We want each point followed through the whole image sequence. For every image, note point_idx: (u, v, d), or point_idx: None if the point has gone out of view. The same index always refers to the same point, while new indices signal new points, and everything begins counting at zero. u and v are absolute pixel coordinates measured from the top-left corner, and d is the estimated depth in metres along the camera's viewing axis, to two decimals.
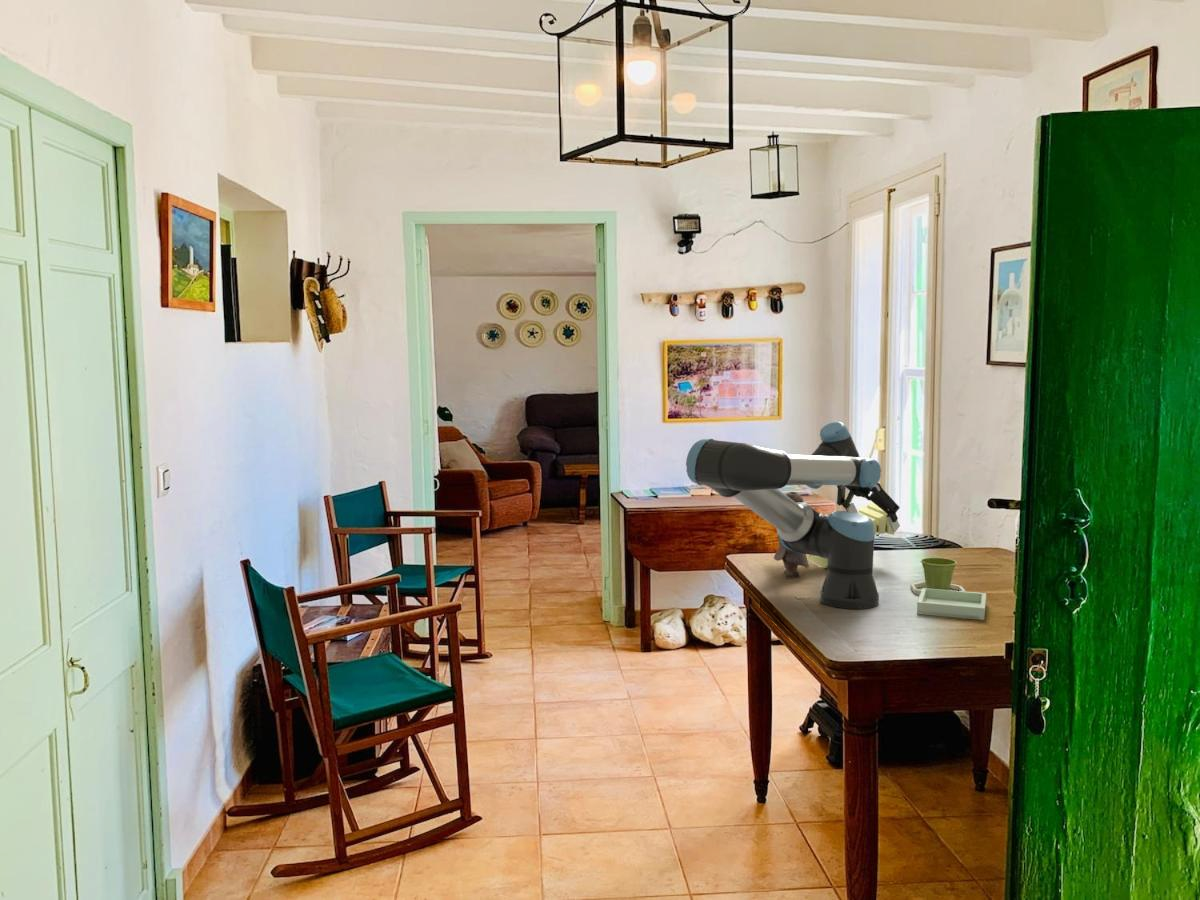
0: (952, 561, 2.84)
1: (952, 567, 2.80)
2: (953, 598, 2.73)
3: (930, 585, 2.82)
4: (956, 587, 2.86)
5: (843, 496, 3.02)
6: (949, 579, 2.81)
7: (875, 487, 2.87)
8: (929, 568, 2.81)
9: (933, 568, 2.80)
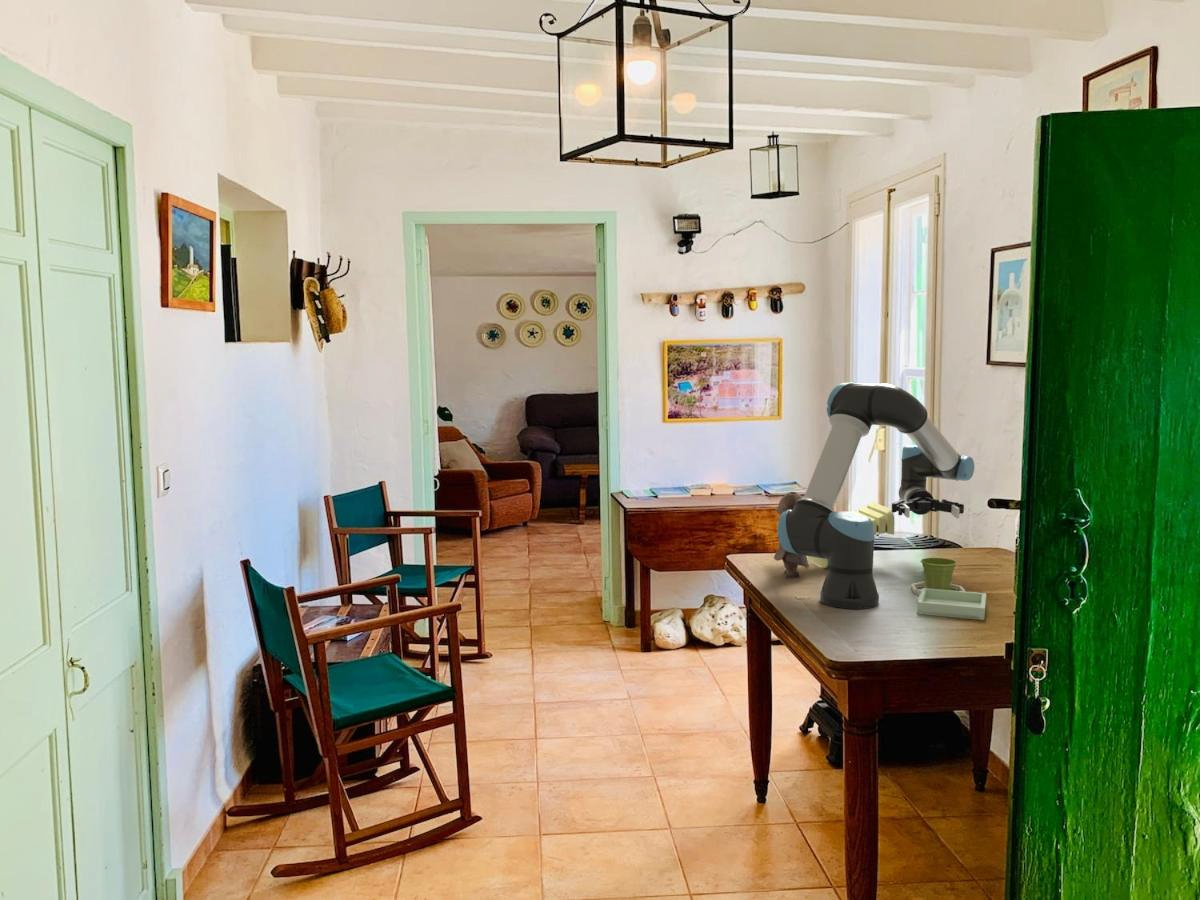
0: (952, 561, 2.84)
1: (952, 567, 2.80)
2: (953, 598, 2.73)
3: (930, 585, 2.82)
4: (956, 587, 2.86)
5: None
6: (949, 579, 2.81)
7: None
8: (929, 568, 2.81)
9: (933, 568, 2.80)
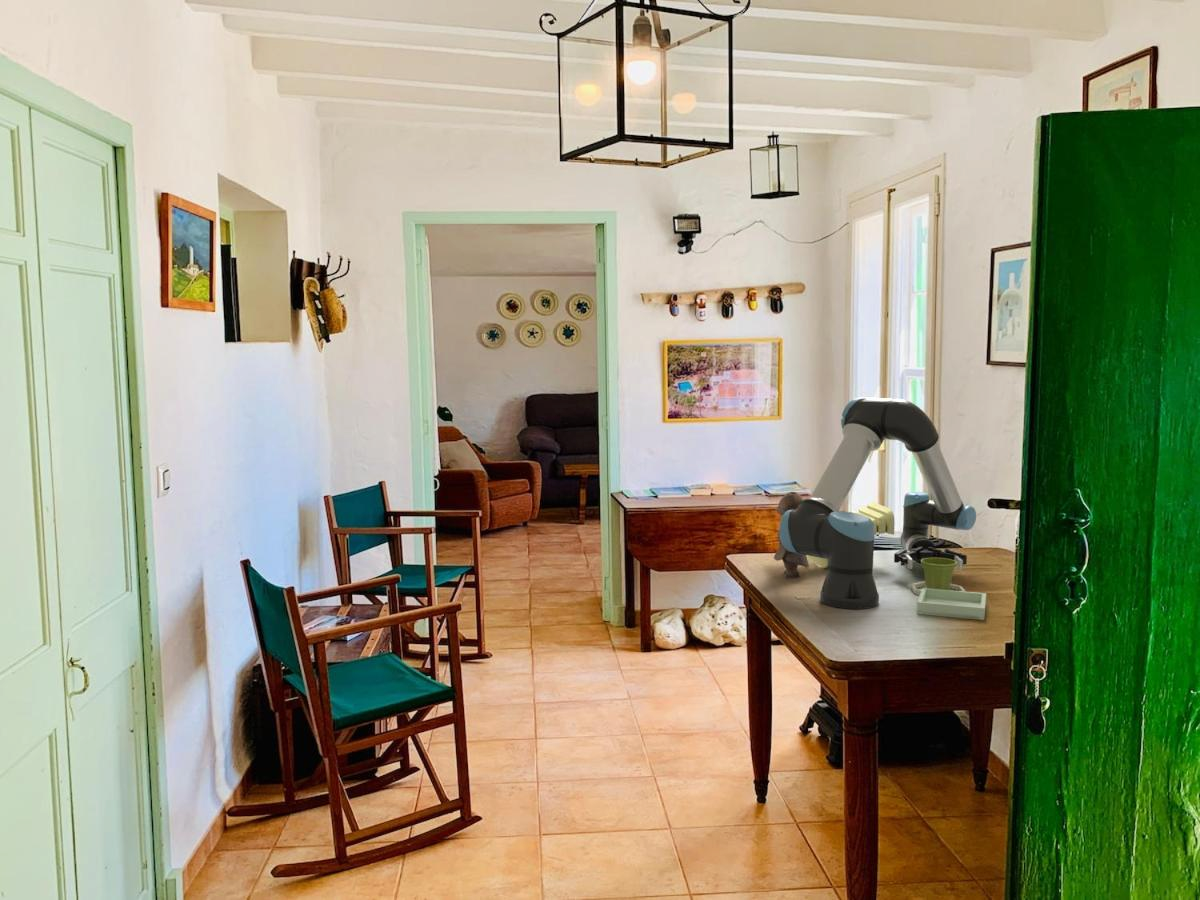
0: (952, 561, 2.84)
1: (952, 567, 2.80)
2: (953, 598, 2.73)
3: (930, 585, 2.82)
4: (956, 587, 2.86)
5: None
6: (949, 579, 2.81)
7: None
8: (929, 568, 2.81)
9: (933, 568, 2.80)
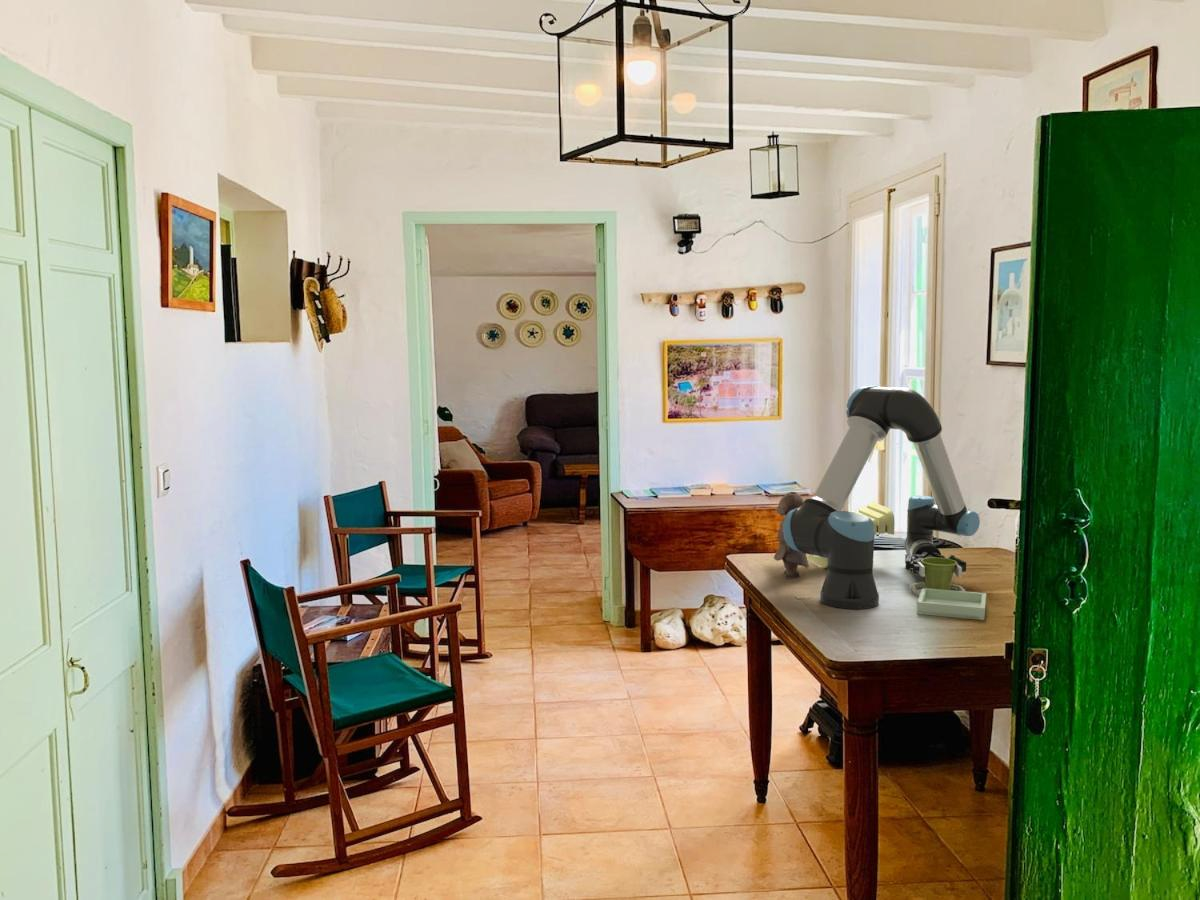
0: (952, 561, 2.84)
1: (952, 567, 2.80)
2: (953, 598, 2.73)
3: (930, 585, 2.82)
4: (956, 587, 2.86)
5: None
6: (949, 579, 2.81)
7: None
8: (929, 568, 2.81)
9: (933, 568, 2.80)
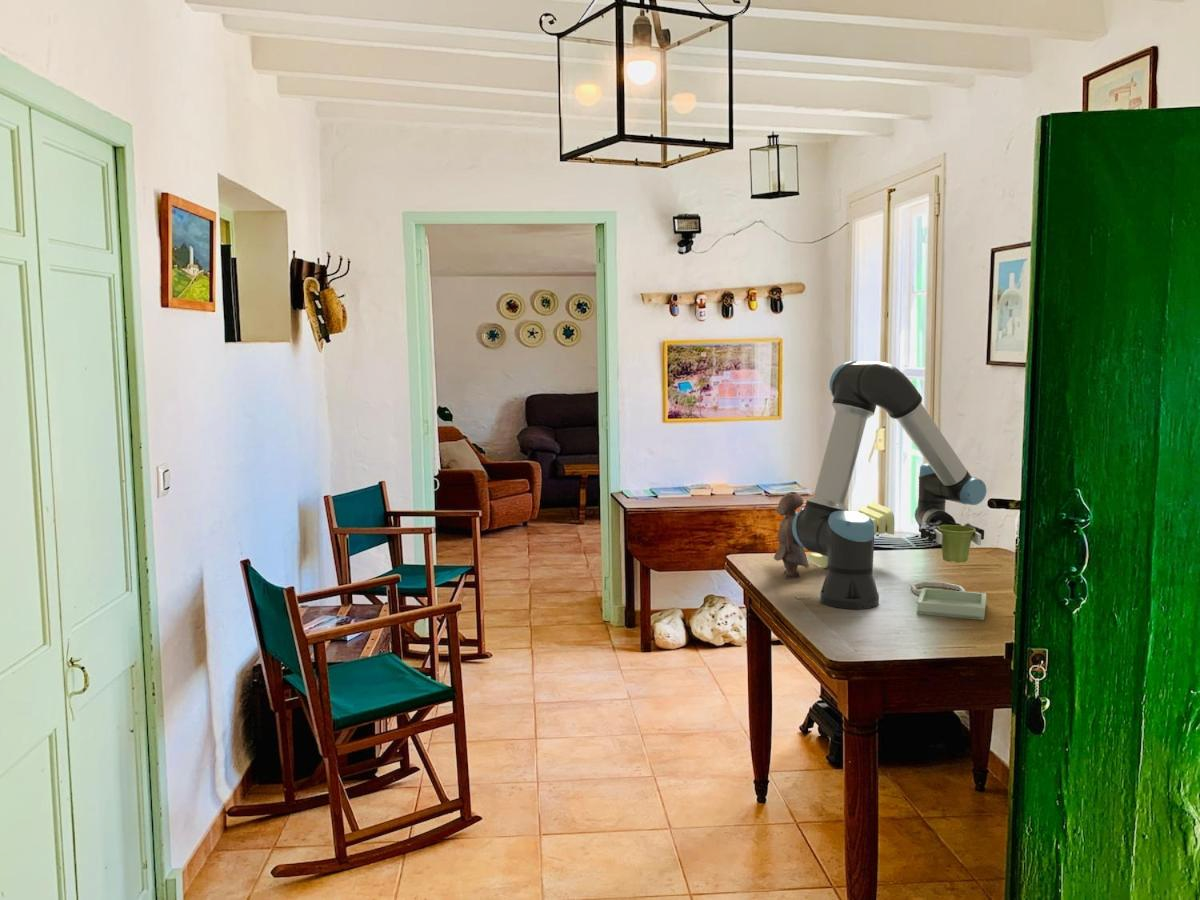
0: (970, 528, 2.72)
1: (971, 534, 2.68)
2: (953, 598, 2.73)
3: (947, 553, 2.69)
4: (956, 587, 2.86)
5: None
6: (967, 547, 2.68)
7: None
8: (947, 535, 2.68)
9: (951, 535, 2.67)
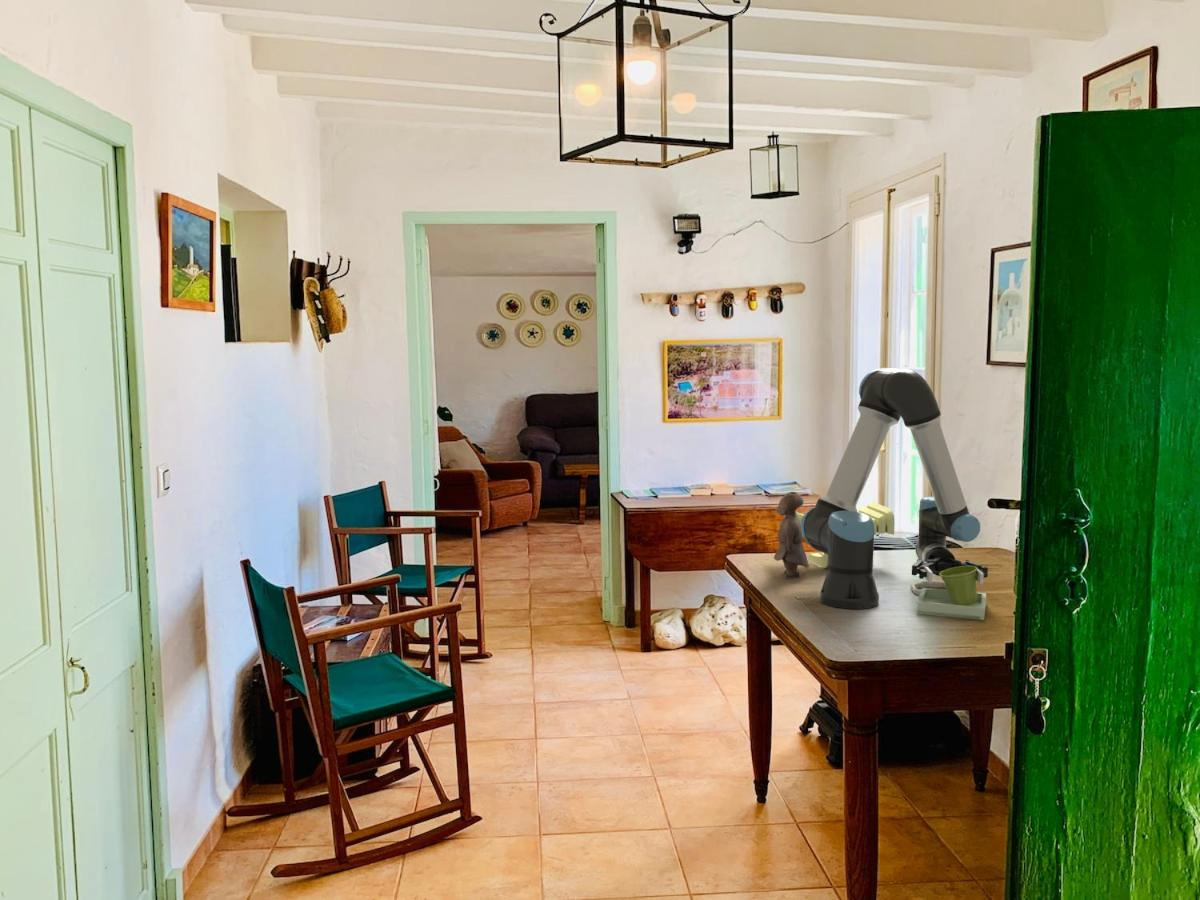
0: (972, 567, 2.67)
1: (973, 574, 2.63)
2: None
3: (955, 598, 2.65)
4: None
5: None
6: (973, 587, 2.64)
7: None
8: (949, 581, 2.64)
9: (954, 580, 2.63)
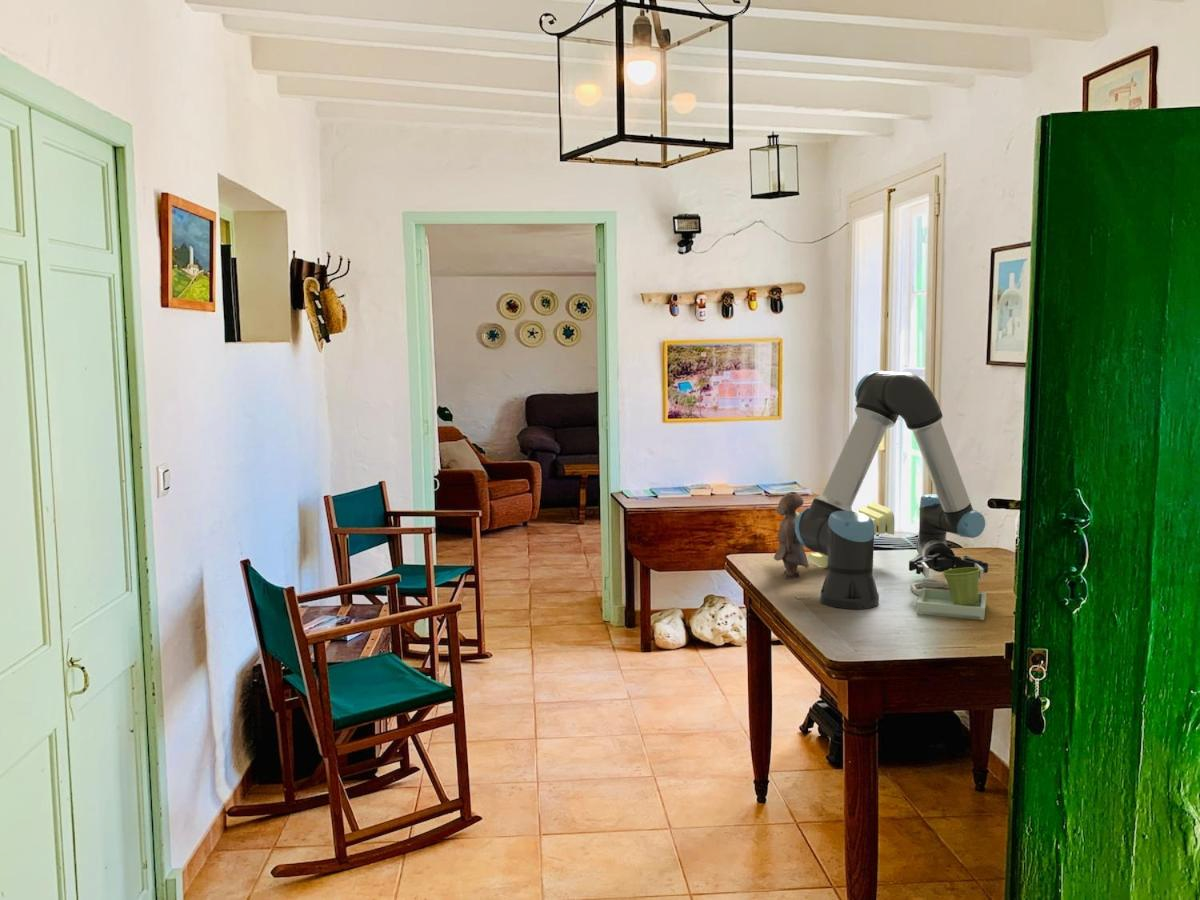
0: (975, 569, 2.68)
1: (977, 574, 2.64)
2: None
3: (957, 597, 2.65)
4: None
5: None
6: (976, 587, 2.64)
7: None
8: (952, 579, 2.64)
9: (957, 578, 2.63)
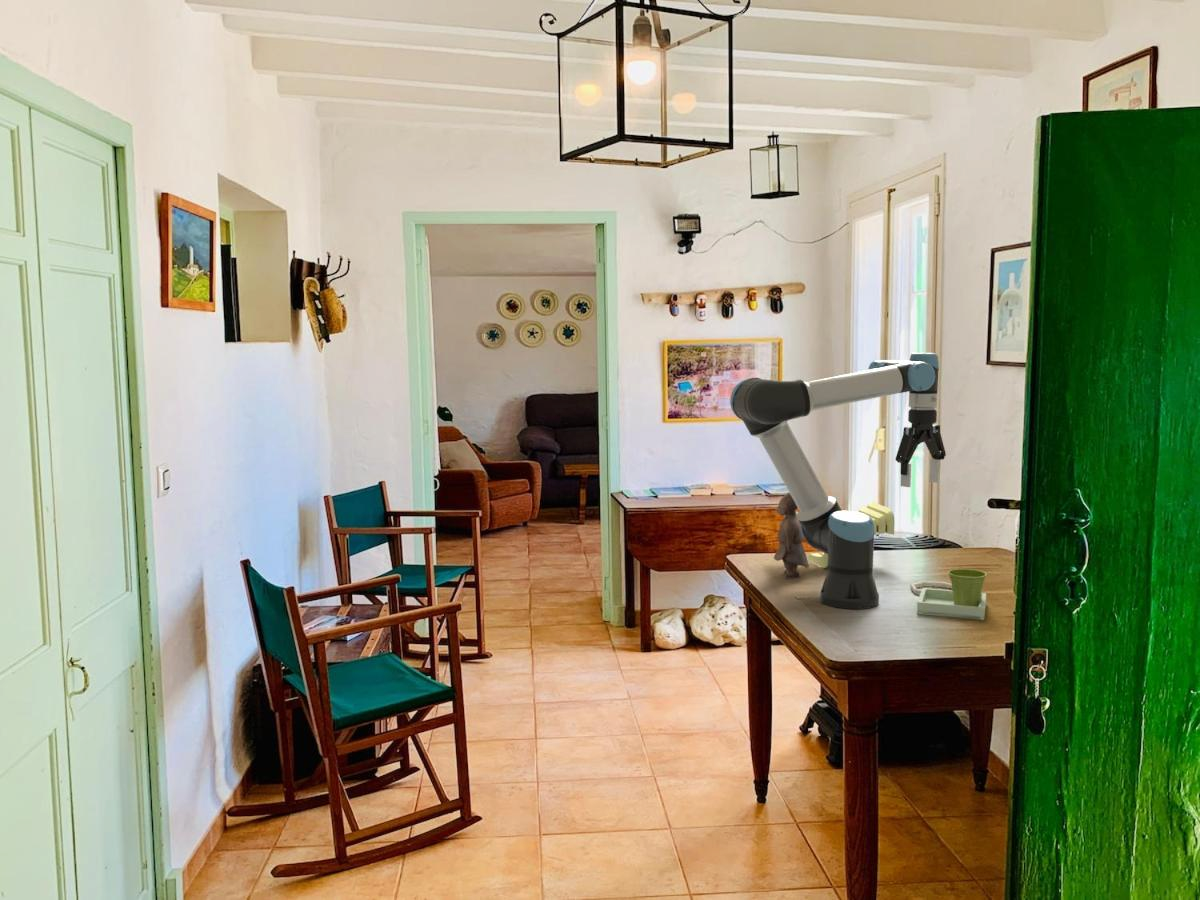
0: (981, 573, 2.67)
1: (982, 579, 2.63)
2: None
3: (959, 598, 2.64)
4: None
5: (938, 447, 2.93)
6: (979, 592, 2.64)
7: (906, 427, 2.84)
8: (958, 581, 2.64)
9: (962, 581, 2.63)
